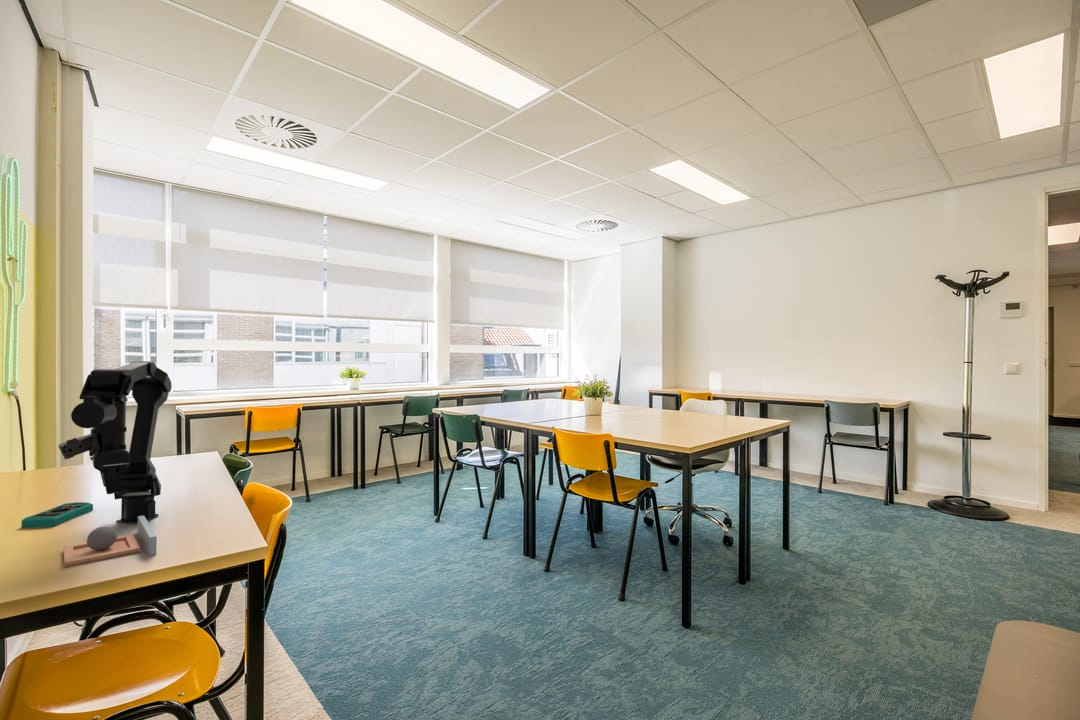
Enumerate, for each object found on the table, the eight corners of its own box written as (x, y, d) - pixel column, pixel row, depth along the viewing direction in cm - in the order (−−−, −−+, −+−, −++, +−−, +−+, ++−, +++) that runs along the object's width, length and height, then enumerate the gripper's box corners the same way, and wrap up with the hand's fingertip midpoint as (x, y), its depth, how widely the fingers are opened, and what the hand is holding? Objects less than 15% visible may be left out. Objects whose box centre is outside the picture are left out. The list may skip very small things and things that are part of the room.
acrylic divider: (137, 532, 122) (137, 516, 122) (143, 531, 123) (143, 515, 123) (149, 556, 108) (149, 537, 108) (156, 554, 109) (156, 536, 109)
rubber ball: (80, 554, 107) (80, 530, 107) (100, 546, 112) (100, 523, 112) (103, 553, 107) (103, 530, 107) (122, 545, 112) (122, 523, 112)
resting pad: (63, 551, 110) (63, 546, 110) (133, 538, 118) (133, 533, 118) (64, 567, 101) (64, 562, 101) (139, 552, 110) (140, 547, 110)
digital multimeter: (95, 511, 140) (95, 501, 140) (53, 528, 125) (53, 517, 125) (65, 512, 139) (65, 502, 139) (19, 530, 124) (19, 518, 124)
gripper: (60, 421, 117) (59, 488, 117) (62, 430, 104) (61, 505, 104) (122, 418, 125) (121, 480, 125) (131, 425, 111) (130, 495, 111)
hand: (108, 490), depth 116 cm, fingers open, 9 cm apart
